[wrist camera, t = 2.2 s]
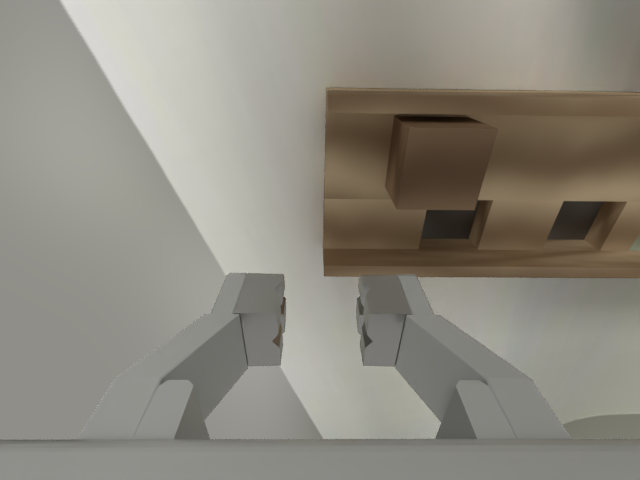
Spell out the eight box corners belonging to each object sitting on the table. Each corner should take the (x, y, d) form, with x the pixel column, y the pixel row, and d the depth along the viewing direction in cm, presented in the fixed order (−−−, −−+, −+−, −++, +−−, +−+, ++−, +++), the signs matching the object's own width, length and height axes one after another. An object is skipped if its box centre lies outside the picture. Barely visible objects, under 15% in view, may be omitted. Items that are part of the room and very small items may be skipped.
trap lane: (326, 87, 22) (328, 94, 18) (789, 94, 22) (890, 102, 18) (322, 246, 28) (324, 276, 24) (678, 248, 29) (735, 278, 25)
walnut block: (394, 116, 21) (409, 127, 17) (468, 116, 21) (498, 128, 17) (384, 187, 23) (396, 209, 20) (451, 187, 23) (474, 210, 20)
